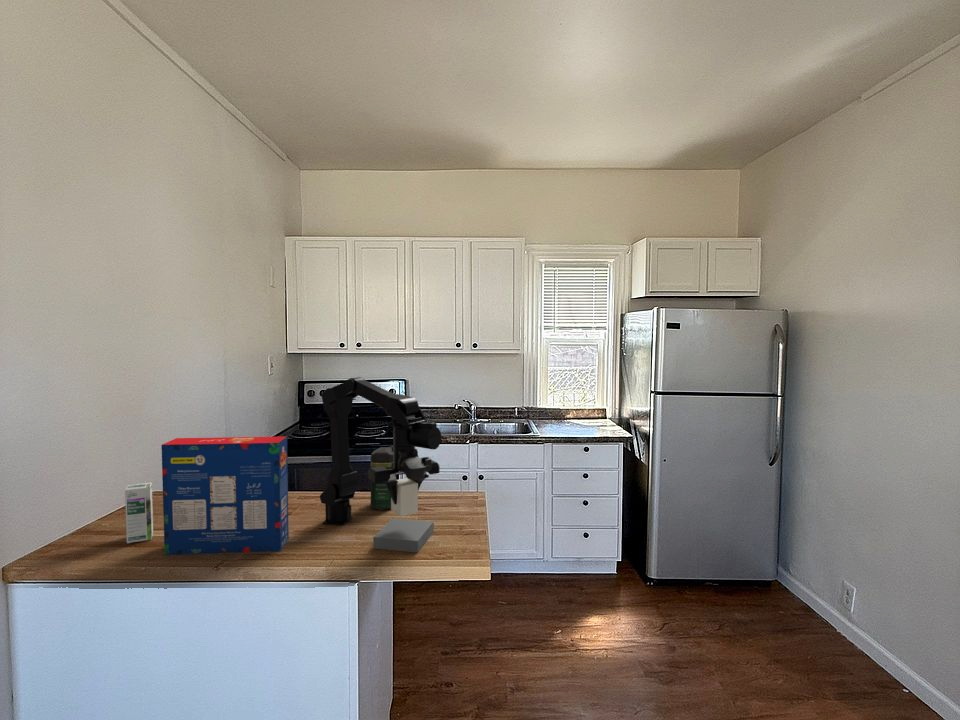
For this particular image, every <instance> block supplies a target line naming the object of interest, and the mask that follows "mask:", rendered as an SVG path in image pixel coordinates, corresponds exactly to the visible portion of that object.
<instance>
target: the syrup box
mask: <svg viewBox="0 0 960 720" xmlns="http://www.w3.org/2000/svg"><path fill="white" fill-rule="evenodd" d="M152 484H153V483H152V482H151V481H150V482H145V483H144V482H143V483H135V484H134V483H133V484H127V486H126V488H125V490H124V500H125V501H124V506H125V522H126V523H125V524H126V525H125V527H126V529H125V530H126V544H131V543H137V542H138V543H139V542H145V541H152V539H153V535H154V520H153V519H154V516H153V515H154V513H153V488H152V487H153V485H152Z"/></svg>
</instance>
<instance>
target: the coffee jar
mask: <svg viewBox="0 0 960 720" xmlns="http://www.w3.org/2000/svg"><path fill="white" fill-rule="evenodd" d="M392 462H394V452H393V451H392V446H391V447H388V446H387V447H385V446H384V447H383V446H380V447H379V448H376V449H375V450H374V451H372V452H371V455H370V468H372V467H379V466H383V467H385V468H386V469H393V468H394V467H392ZM395 480H397V475H395ZM370 508H371V509H375V510H379V511H384V510H387V509H391V495H390V493H389V491H388V488H387V486H386V485H385V483H384V482H382V483H375V482H373V481H371V480H370Z"/></svg>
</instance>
